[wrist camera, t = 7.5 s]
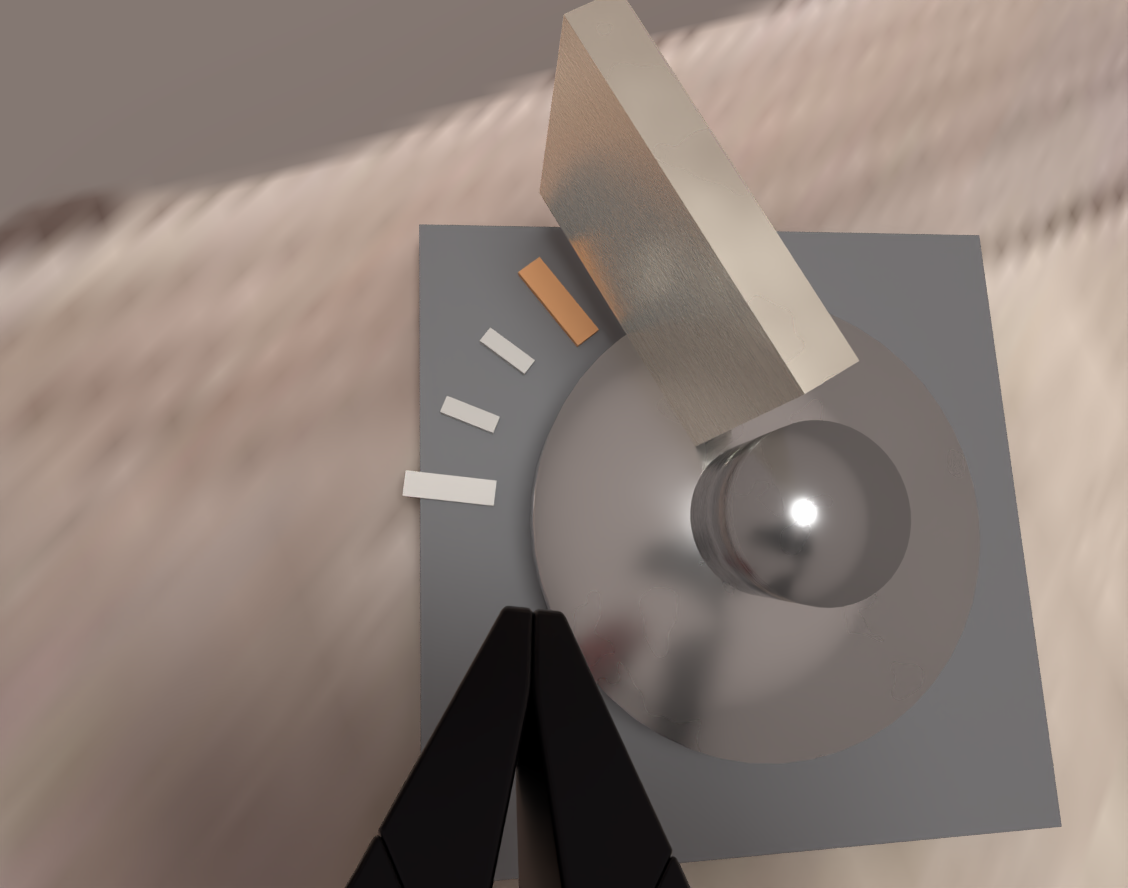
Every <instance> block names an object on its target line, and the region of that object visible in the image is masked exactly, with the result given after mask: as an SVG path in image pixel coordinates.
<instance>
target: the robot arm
mask: <svg viewBox="0 0 1128 888" xmlns="http://www.w3.org/2000/svg"><path fill="white" fill-rule="evenodd" d="M515 771H516V808H517V842H518V876H519V888H690V886H689V884H688V881H687V879H686V877H685V875H684V873H683V870H682V868H681V866H680V864H679V862H678V860H677V858H676V857H675V856H672V857H671V855H672V853H673V850H672V847H671V845H670V843H669V841H668V838H667V836H666V834H665V832H664V830H663V828H662V825H661V823H660V821H659V819H658V817H657V814H656V812H655V810H654V808H653V806H652V804H651V801H650V799H649V797H648V795H647V793H646V791H645V788H644V786H643V784H642V782H641V780H640V777H639V775H638V773H637V771H636V769H635V767H634V764H633V762H632V760H631V758H630V756H629V753H628V751H627V749H626V747H625V745H624V743H623V740H622V738H621V736H620V734H619V732H618V730H617V727H616V725H615V723H614V721H613V719H612V716H611V714H610V712H609V710H608V708H607V706H606V703H605V701H604V699H603V697H602V695H601V692H600V690H599V688H598V686H597V684H596V682H595V679H594V677H593V675H592V673H591V671H590V669H589V666H588V664H587V662H586V660H585V658H584V655H583V653H582V651H581V649H580V647H579V645H578V642H577V640H576V638H575V636H574V634H573V631H572V629H571V627H570V625H569V623H568V621H567V618H566V617H565V615H564V614H563V613H562V612H561V611H556V610H546V609H536V610H535V611H534V612H532V610H531V609H530V608H527V607H517V606H505V607H504V608H503V609H502V610H501V611H500V613H499V615H498V617H497V618H496V620H495V622H494V624H493V626H492V627H491V629H490V631H489V633H488V635H487V636H486V638H485V640H484V642H483V644H482V645H481V647H480V649H479V651H478V652H477V654H476V656H475V658H474V660H473V661H472V663H471V665H470V667H469V669H468V670H467V672H466V674H465V676H464V678H463V679H462V681H461V683H460V685H459V687H458V688H457V690H456V692H455V694H454V695H453V697H452V699H451V701H450V703H449V704H448V706H447V708H446V710H445V712H444V713H443V715H442V717H441V719H440V721H439V722H438V724H437V726H436V728H435V729H434V731H433V733H432V735H431V737H430V738H429V740H428V742H427V744H426V746H425V747H424V749H423V751H422V753H421V755H420V756H419V758H418V760H417V762H416V763H415V765H414V767H413V769H412V771H411V772H410V774H409V776H408V778H407V780H406V781H405V783H404V785H403V787H402V789H401V790H400V792H399V794H398V796H397V797H396V799H395V801H394V803H393V805H392V806H391V808H390V810H389V812H388V814H387V815H386V817H385V819H384V821H383V823H382V824H381V826H380V828H379V830H378V835H377V836H375V837H374V838H373V840H372V841H371V843H370V845H369V847H368V849H367V850H366V852H365V854H364V856H363V858H362V859H361V861H360V863H359V865H358V866H357V868H356V870H355V872H354V873H353V875H352V877H351V878H350V880H349V882H348V883H347V885H346V887H345V888H492V887H493V882H494V877H495V872H496V867H497V862H498V857H499V851H500V846H501V841H502V836H503V831H504V826H505V821H506V816H507V811H508V806H509V801H510V796H511V791H512V786H513V781H514V776H515ZM670 857H671V858H670Z"/></svg>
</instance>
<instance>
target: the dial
mask: <svg viewBox="0 0 1128 888" xmlns="http://www.w3.org/2000/svg"><path fill="white" fill-rule="evenodd" d="M539 193H540V194H541V196H542V198H543V199H544V201H545V203H546V204H547V206H548V207H549V209H550V211H551V212H552V214H553V216H554V217H555V219H556V221H557V222H558V224H559V225H560V227H561V229H562V230H563V232H564V234H565V235H566V237H567V238H568V240H569V242H570V243H571V245H572V247H573V248H574V250H575V251H576V253H577V255H578V256H579V258H580V260H581V261H582V263H583V264H584V266H585V268H586V269H587V271H588V273H589V274H590V276H591V277H592V279H593V281H594V282H595V284H596V286H597V287H598V289H599V290H600V292H601V294H602V295H603V297H604V299H605V300H606V302H607V303H608V305H609V307H610V308H611V310H612V312H613V313H614V315H615V316H616V318H617V320H618V321H619V323H620V325H621V326H622V328H623V329H624V331H625V333H626V334H627V335H625V336H624V337H622V338H621V339H619V340H618V341H617V342H616V343H615V344H614V345H613V346H611V347H610V348H609V349H608V350H607V351H606V352H604V353H603V354H602V355H601V356H600V357H599V358H598V359H597V360H596V361H595V362H594V364H593V365H592V366H591V367H590V368H589V369H588V370H587V371H586V373H585V374H584V375H583V376H582V377H581V378H580V380H579V381H578V383H577V384H576V386H575V387H574V389H573V390H572V392H571V393H570V395H569V396H568V398H567V399H566V401H565V402H564V404H563V406H562V408H561V410H560V412H559V414H558V416H557V418H556V420H555V422H554V424H553V426H552V428H551V430H550V432H549V434H548V436H547V438H546V440H545V443H544V446H543V449H542V452H541V455H540V458H539V461H538V464H537V468H536V473H535V478H534V483H533V489H532V494H531V510H530V533H531V547H532V555H533V560H534V564H535V569H536V574H537V579H538V582H539V585H540V588H541V591H542V594H543V597H544V600H545V603H546V606H547V608H548V610H556V611H561V612H562V613H563V614H564V615H565V617H566V618H567V621H568V623H569V625H570V627H571V629H572V631H573V634H574V636H575V638H576V640H577V642H578V645H579V647H580V649H581V651H582V653H583V655H584V658H585V660H586V662H587V664H588V666H589V669H590V671H591V673H592V675H593V677H594V679H595V682H596V683H597V684H598V685H599V686H600V687H601V688H602V690H603V691H604V692H605V693H606V694H607V695H608V696H609V697H610V698H611V699H612V700H613V701H614V702H616V703H617V704H618V705H619V706H620V707H621V708H623V709H624V710H625V711H626V712H627V713H628V714H629V715H631V716H632V717H633V718H635V719H636V720H638V721H639V722H641V723H642V724H644V725H645V726H647V727H648V728H650V729H651V730H653V731H654V732H656V733H657V734H659V735H661V736H663V737H665V738H667V739H669V740H671V741H673V742H676V743H678V744H680V745H682V746H684V747H686V748H688V749H691V750H694V751H698V752H701V753H704V754H707V755H710V756H714V757H717V758H721V759H727V760H734V761H740V762H746V763H773V764H782V763H789V762H797V761H805V760H811V759H815V758H819V757H822V756H826V755H829V754H833V753H836V752H840V751H842V750H844V749H847V748H849V747H851V746H853V745H855V744H858V743H860V742H862V741H864V740H867V739H868V738H870V737H871V736H873V735H875V734H876V733H878V732H879V731H881V730H882V729H884V728H886V727H887V726H889V725H890V724H892V723H893V722H894V721H895V720H897V719H898V718H899V717H900V716H901V715H902V714H904V713H905V712H906V711H907V710H908V709H909V708H911V707H912V706H913V705H914V704H915V703H916V702H917V701H918V700H919V699H920V697H921V696H922V695H923V694H924V693H925V692H926V691H927V689H928V688H929V687H930V686H931V685H932V684H933V683H934V681H935V680H936V678H937V677H938V675H939V674H940V672H941V671H942V669H943V668H944V666H945V665H946V663H947V662H948V660H949V659H950V657H951V655H952V653H953V651H954V649H955V647H956V645H957V643H958V641H959V638H960V636H961V634H962V632H963V630H964V627H965V624H966V621H967V618H968V615H969V612H970V609H971V606H972V603H973V598H974V592H975V587H976V582H977V577H978V569H979V554H980V532H979V514H978V508H977V503H976V497H975V491H974V486H973V482H972V479H971V475H970V472H969V469H968V465H967V462H966V459H965V456H964V454H963V451H962V449H961V447H960V444H959V442H958V440H957V437H956V435H955V433H954V430H953V429H952V427H951V425H950V423H949V422H948V420H947V418H946V417H945V415H944V413H943V411H942V410H941V408H940V406H939V405H938V403H937V402H936V401H935V399H934V398H933V396H932V395H931V394H930V392H929V391H928V390H927V388H926V387H925V386H924V384H923V383H922V382H921V381H920V380H919V379H918V377H917V376H916V375H915V374H914V373H913V372H912V371H911V370H910V369H909V368H908V367H907V366H906V365H905V363H904V362H903V361H901V360H900V359H899V358H898V357H897V356H896V355H894V354H893V353H892V352H891V351H890V350H888V349H887V348H886V347H885V346H884V345H883V344H881V343H880V342H879V341H877V340H876V339H874V338H873V337H871V336H870V335H868V334H866V333H865V332H863V331H862V330H860V329H859V328H857V327H855V326H853V325H851V324H850V323H848V322H846V321H844V320H842V319H840V318H838V317H836V316H834V315H831V314H829V313H828V311H827V310H826V308H825V307H824V305H823V303H822V302H821V300H820V299H819V297H818V296H817V294H816V293H815V291H814V289H813V288H812V286H811V285H810V283H809V282H808V280H807V279H806V277H805V275H804V274H803V272H802V271H801V269H800V268H799V266H798V265H797V263H796V262H795V260H794V258H793V257H792V255H791V254H790V252H789V251H788V249H787V248H786V246H785V244H784V243H783V241H782V240H781V238H780V237H779V235H778V234H777V232H776V230H775V229H774V227H773V226H772V224H771V223H770V221H769V220H768V218H767V217H766V215H765V213H764V212H763V210H762V209H761V207H760V206H759V204H758V203H757V201H756V199H755V198H754V196H753V195H752V193H751V192H750V190H749V189H748V187H747V185H746V184H745V182H744V181H743V179H742V178H741V176H740V175H739V173H738V172H737V170H736V168H735V167H734V165H733V164H732V162H731V161H730V159H729V158H728V156H727V154H726V153H725V151H724V150H723V148H722V147H721V145H720V144H719V142H718V140H717V139H716V137H715V136H714V134H713V133H712V131H711V130H710V128H709V127H708V125H707V123H706V122H705V120H704V119H703V117H702V116H701V114H700V113H699V111H698V109H697V108H696V106H695V105H694V103H693V102H692V100H691V99H690V97H689V95H688V94H687V92H686V91H685V89H684V88H683V86H682V85H681V83H680V82H679V80H678V78H677V77H676V75H675V74H674V72H673V71H672V69H671V68H670V66H669V64H668V63H667V61H666V60H665V58H664V57H663V55H662V54H661V52H660V51H659V49H658V47H657V46H656V44H655V43H654V41H653V40H652V38H651V37H650V35H649V33H648V32H647V30H646V29H645V27H644V26H643V24H642V23H641V21H640V19H639V18H638V16H637V15H636V14H635V12H634V10H633V9H632V7H631V6H630V4H629V2H628V1H627V0H594V1H592V2H590V3H588V4H585V5H583V6H581V7H579V8H577V9H574V10H572V11H570V12H568V13H566V14H564V17H563V24H562V31H561V38H560V46H559V53H558V60H557V68H556V75H555V82H554V90H553V97H552V104H551V111H550V119H549V126H548V133H547V141H546V148H545V155H544V163H543V170H542V177H541V184H540V192H539Z"/></svg>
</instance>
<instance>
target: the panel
mask: <svg viewBox="0 0 1128 888" xmlns="http://www.w3.org/2000/svg"><path fill="white" fill-rule="evenodd" d="M776 232H777V234H778V235H779V237H780V238H781V240H782V241H783V243H784V244H785V246H786V248H787V249H788V251H789V252H790V254H791V255H792V257H793V258H794V260H795V262H796V263H797V265H798V266H799V268H800V269H801V271H802V272H803V274H804V275H805V277H806V279H807V280H808V282H809V283H810V285H811V286H812V288H813V289H814V291H815V293H816V294H817V296H818V297H819V299H820V300H821V302H822V303H823V305H824V307H825V308H826V310H827V311H828V313H829V314H831V315H834V316H836V317H838V318H840V319H842V320H844V321H846V322H848V323H850V324H851V325H853V326H855V327H857V328H859V329H860V330H862V331H863V332H865V333H866V334H868V335H870V336H871V337H873V338H874V339H876V340H877V341H879V342H880V343H881V344H883V345H884V346H885V347H886V348H887V349H888V350H890V351H891V352H892V353H893V354H894V355H896V356H897V357H898V358H899V359H900V360H901V361H903V362H904V363H905V365H906V366H907V367H908V368H909V369H910V370H911V371H912V372H913V373H914V374H915V375H916V376H917V377H918V379H919V380H920V381H921V382H922V383H923V384H924V386H925V387H926V388H927V390H928V391H929V392H930V394H931V395H932V396H933V398H934V399H935V401H936V402H937V403H938V405H939V406H940V408H941V410H942V411H943V413H944V415H945V417H946V418H947V420H948V422H949V423H950V425H951V427H952V429H953V430H954V433H955V435H956V437H957V440H958V442H959V444H960V447H961V449H962V451H963V454H964V456H965V459H966V462H967V465H968V469H969V472H970V475H971V479H972V482H973V486H974V491H975V497H976V503H977V508H978V514H979V532H980V554H979V569H978V577H977V582H976V587H975V592H974V598H973V603H972V606H971V609H970V612H969V615H968V618H967V621H966V624H965V627H964V630H963V632H962V634H961V636H960V638H959V641H958V643H957V645H956V647H955V649H954V651H953V653H952V655H951V657H950V659H949V660H948V662H947V663H946V665H945V666H944V668H943V669H942V671H941V672H940V674H939V675H938V677H937V678H936V680H935V681H934V683H933V684H932V685H931V686H930V687H929V688H928V689H927V691H926V692H925V693H924V694H923V695H922V696H921V697H920V699H919V700H918V701H917V702H916V703H915V704H914V705H913V706H912V707H911V708H909V709H908V710H907V711H906V712H905V713H904V714H902V715H901V716H900V717H899V718H898V719H897V720H895V721H894V722H893V723H892V724H890V725H889V726H887V727H886V728H884V729H882V730H881V731H879V732H878V733H876V734H875V735H873V736H871V737H870V738H868V739H867V740H864V741H862V742H860V743H858V744H855V745H853V746H851V747H849V748H847V749H844V750H842V751H840V752H836V753H833V754H829V755H826V756H822V757H819V758H815V759H811V760H805V761H797V762H789V763H782V764H773V763H746V762H740V761H734V760H727V759H721V758H717V757H714V756H710V755H707V754H704V753H701V752H698V751H694V750H691V749H688V748H686V747H684V746H682V745H680V744H678V743H676V742H673V741H671V740H669V739H667V738H665V737H663V736H661V735H659V734H657V733H656V732H654V731H653V730H651V729H650V728H648V727H647V726H645V725H644V724H642V723H641V722H639V721H638V720H636V719H635V718H633V717H632V716H631V715H629V714H628V713H627V712H626V711H625V710H624V709H623V708H621V707H620V706H619V705H618V704H617V703H616V702H614V701H613V700H612V699H611V698H610V697H609V696H608V695H607V694H606V693H605V692H604V691H603V690H602V688H601V687H600V686H599V685H598V684H597V683H596V684H597V686H598V688H599V690H600V692H601V695H602V697H603V699H604V701H605V703H606V706H607V708H608V710H609V712H610V714H611V716H612V719H613V721H614V723H615V725H616V727H617V730H618V732H619V734H620V736H621V738H622V740H623V743H624V745H625V747H626V749H627V751H628V753H629V756H630V758H631V760H632V762H633V764H634V767H635V769H636V771H637V773H638V775H639V777H640V780H641V782H642V784H643V786H644V788H645V791H646V793H647V795H648V797H649V799H650V801H651V804H652V806H653V808H654V810H655V812H656V814H657V817H658V819H659V821H660V823H661V825H662V828H663V830H664V832H665V834H666V836H667V838H668V841H669V843H670V845H671V847H672V850H673V853H672V855H671V857H672V856H675V857H676V858H677V860H678V862H679V863H685V862H696V861H706V860H717V859H727V858H738V857H748V856H759V855H769V854H780V853H790V852H801V851H811V850H822V849H832V848H843V847H853V846H864V845H874V844H885V843H895V842H906V841H916V840H927V839H937V838H947V837H958V836H968V835H979V834H989V833H1000V832H1010V831H1021V830H1031V829H1042V828H1052V827H1062V825H1061V818H1060V811H1059V804H1058V797H1057V790H1056V782H1055V775H1054V768H1053V761H1052V754H1051V747H1050V740H1049V732H1048V725H1047V718H1046V711H1045V704H1044V697H1043V689H1042V682H1041V675H1040V668H1039V661H1038V654H1037V646H1036V639H1035V632H1034V625H1033V618H1032V611H1031V603H1030V596H1029V589H1028V582H1027V575H1026V568H1025V560H1024V553H1023V546H1022V539H1021V532H1020V525H1019V517H1018V510H1017V503H1016V496H1015V489H1014V482H1013V475H1012V467H1011V460H1010V453H1009V446H1008V439H1007V432H1006V424H1005V417H1004V410H1003V403H1002V396H1001V389H1000V381H999V374H998V367H997V360H996V353H995V346H994V338H993V331H992V324H991V317H990V310H989V303H988V295H987V288H986V281H985V274H984V267H983V260H982V252H981V245H980V238H979V235H933V234H881V233H830V232H779V231H776ZM419 264H420V472H416V471H408V470H406V474H405V481H404V488H403V495H402V496H407V497H416V498H420V609H421V753H422V751H423V749H424V747H425V746H426V744H427V742H428V740H429V738H430V737H431V735H432V733H433V731H434V729H435V728H436V726H437V724H438V722H439V721H440V719H441V717H442V715H443V713H444V712H445V710H446V708H447V706H448V704H449V703H450V701H451V699H452V697H453V695H454V694H455V692H456V690H457V688H458V687H459V685H460V683H461V681H462V679H463V678H464V676H465V674H466V672H467V670H468V669H469V667H470V665H471V663H472V661H473V660H474V658H475V656H476V654H477V652H478V651H479V649H480V647H481V645H482V644H483V642H484V640H485V638H486V636H487V635H488V633H489V631H490V629H491V627H492V626H493V624H494V622H495V620H496V618H497V617H498V615H499V613H500V611H501V610H502V609H503V608H504V607H505V606H517V607H527V608H530V609H531V610H532V612H534V611H535V610H536V609H546V610H548V608H547V606H546V603H545V600H544V597H543V594H542V591H541V588H540V585H539V582H538V579H537V574H536V569H535V564H534V560H533V555H532V547H531V533H530V510H531V494H532V489H533V483H534V478H535V473H536V468H537V464H538V461H539V458H540V455H541V452H542V449H543V446H544V443H545V440H546V438H547V436H548V434H549V432H550V430H551V428H552V426H553V424H554V422H555V420H556V418H557V416H558V414H559V412H560V410H561V408H562V406H563V404H564V402H565V401H566V399H567V398H568V396H569V395H570V393H571V392H572V390H573V389H574V387H575V386H576V384H577V383H578V381H579V380H580V378H581V377H582V376H583V375H584V374H585V373H586V371H587V370H588V369H589V368H590V367H591V366H592V365H593V364H594V362H595V361H596V360H597V359H598V358H599V357H600V356H601V355H602V354H603V353H604V352H606V351H607V350H608V349H609V348H610V347H611V346H613V345H614V344H615V343H616V342H617V341H618V340H619V339H621V338H622V337H624V336H625V335H627V334H626V333H625V331H624V329H623V328H622V326H621V325H620V323H619V321H618V320H617V318H616V316H615V315H614V313H613V312H612V310H611V308H610V307H609V305H608V303H607V302H606V300H605V299H604V297H603V295H602V294H601V292H600V290H599V289H598V287H597V286H596V284H595V282H594V281H593V279H592V277H591V276H590V274H589V273H588V271H587V269H586V268H585V266H584V264H583V263H582V261H581V260H580V258H579V256H578V255H577V253H576V251H575V250H574V248H573V247H572V245H571V243H570V242H569V240H568V238H567V237H566V235H565V234H564V232H563V230H562V229H561V227H522V226H471V225H419ZM671 857H670V858H671ZM517 878H519V876H518V842H517V808H516V771H515V776H514V781H513V786H512V791H511V796H510V801H509V806H508V811H507V816H506V821H505V826H504V831H503V836H502V841H501V846H500V851H499V857H498V862H497V867H496V872H495V877H494V881H496V880H507V879H517Z"/></svg>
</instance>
